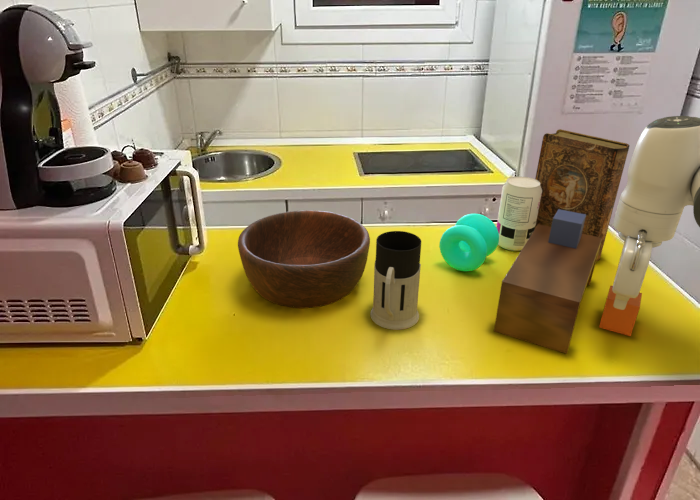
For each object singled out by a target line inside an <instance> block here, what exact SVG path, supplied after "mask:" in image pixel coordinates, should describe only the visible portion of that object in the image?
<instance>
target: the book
mask: <svg viewBox="0 0 700 500" xmlns="http://www.w3.org/2000/svg"><path fill="white" fill-rule="evenodd" d="M541 140H542V141H541V145H540V151H539V156H538V162H537V167H536V173H535V178H534V179H536V180H538V181H539V182H540V186H541V189H542V195H541V200H540V205H539V211H538V216H537V221H536V226H535V228H536V227H537V225H538V224H539V225H544V226H548V227H551V226H552V221H553V218H554V216H555V214H556V213H557V211H558V209H560V210H565V211H570V212H576V213H581V214H586V218H585V222H584V226H583V231H582V234H586V235H591V236H596V237H600V238H602V240H601V244H600V248H599V252H598V256H597V260H596V263H597V262H599V261H600V260H601V258H602V257H601V256H602V253H603V249H604V245H605V241H606V237H607V234H608V230H609V226H610V223H611V220H612V219H611V218H612V215H613V210H614V207H615V204H616V199H617V195H618V191H619V188H620V184H621V180H622V177H623V172H624V169H625V165H626V161H627V157H628V153H629V150H630V143H626V142H621V141H617V140H613V139H608V138H604V137H598V136H594V135H591V134H590V135H589V134H584V133H580V132H575V131H571V130H566V129H562V128H559V129H557V130H556V131H555V133H549V132H547V133H546V132H545V133H544V134H543V136H542V139H541Z"/></svg>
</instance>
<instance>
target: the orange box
mask: <svg viewBox="0 0 700 500" xmlns="http://www.w3.org/2000/svg"><path fill="white" fill-rule="evenodd" d="M612 288H613V285H610V286H609V289H608V292H607V297H606V300H605V304H604V306H603V311H602V313H601V318H600V322H599V326H598V328H600V329H603V330H606V331H609V332H614V333H617V334H621V335H625V336H628V337H631V336H632V333H633V330H634V327H635V324H636V321H637V317H638V315H639V311H640V308H641V303H642V297H643V293H642V292H641V291H640V292H639V294H638V296H637V297H636V298H629V300H628V302H627V305H626V307H625V309H624V310H620V309H617V308H614V307H613V304H614V300H615V297H616V294H615V293H613V291H612Z"/></svg>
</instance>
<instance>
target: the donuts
mask: <svg viewBox="0 0 700 500" xmlns="http://www.w3.org/2000/svg"><path fill="white" fill-rule="evenodd" d="M498 243H499V233H498V230H497V225H496V224H495V223H494V222H493V221H492V219H490V218H489V217H487V216H486V215H483V214H481V213H468V214H465V215H463V216H461V217H460V218H459V219H458V220H456V222H455V225H453V226H450V227H449V228H447V229H446V230H445V231H444V232H443V233H442V235H441V237H440V240H439V251H440V254H441V257H442V259H443V260H444V261H445V262H446V264H447V265H449V266H450V267H451V268H453V269H455V270H457V271H459V272H472V271H475V270H477V269H479V268H480V267H481V266H482V265H483V264H484V263H485V262H486V260H487V257H489V256H490V255H492V254H493V253H494V252H495V251H496V250H497V248H498V246H499V245H498Z"/></svg>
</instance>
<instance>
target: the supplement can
mask: <svg viewBox="0 0 700 500" xmlns="http://www.w3.org/2000/svg"><path fill="white" fill-rule="evenodd" d="M541 195H542V189H541V186H540V182H539V181H538V180H536V179H535V178H532V177H528V176H517V175H516V176H511V177H508V178H507V179H506V181H505V182H504V184H503V185H502V188H501V195H500V201H499V208H498V214H497V221H496V227H497V230H498V233H499V243H498V246H499V247H501V248H502V249H505V250H508V251H514V252H521V251H522V249H523V247H524V246H525V244H526V243H527V241H528V239H529V238H530V236H531V235H532V233H533V231H534V230H535V226H536V221H537V216H538V211H539V205H540V200H541Z"/></svg>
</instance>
